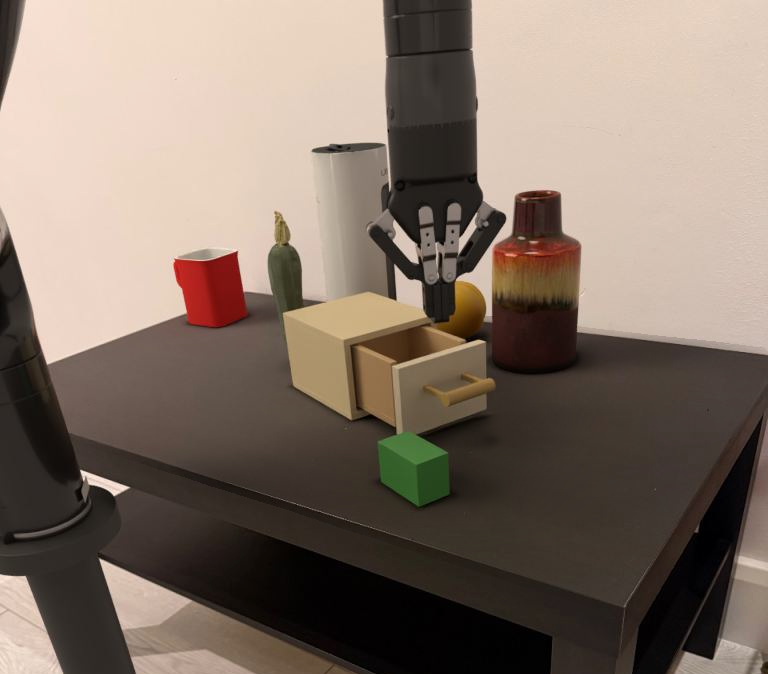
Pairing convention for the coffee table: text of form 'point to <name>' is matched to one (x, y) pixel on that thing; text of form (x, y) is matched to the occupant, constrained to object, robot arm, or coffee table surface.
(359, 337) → the cabinet
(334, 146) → the speaker
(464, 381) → the drawer
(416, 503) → the green rectangular prism
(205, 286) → the mug
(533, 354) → the vase
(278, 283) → the vegetable
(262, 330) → the coffee table surface
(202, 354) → the coffee table surface
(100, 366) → the coffee table surface
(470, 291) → the fruit
